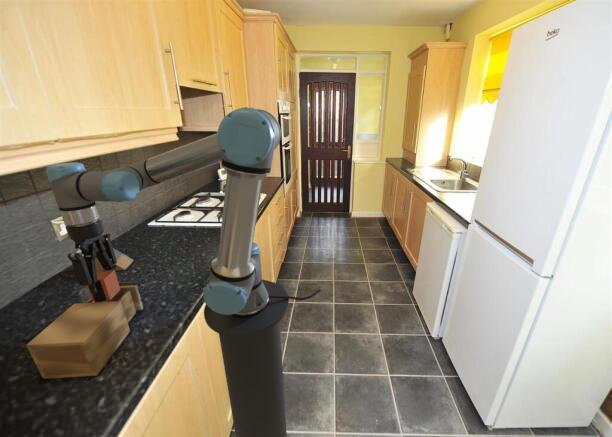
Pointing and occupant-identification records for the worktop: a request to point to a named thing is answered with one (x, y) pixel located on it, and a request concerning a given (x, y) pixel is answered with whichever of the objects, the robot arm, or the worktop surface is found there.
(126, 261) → the sandwich container
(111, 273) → the block
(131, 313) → the drawer
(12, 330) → the worktop surface
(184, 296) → the worktop surface
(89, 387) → the worktop surface
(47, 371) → the tan rectangular box
